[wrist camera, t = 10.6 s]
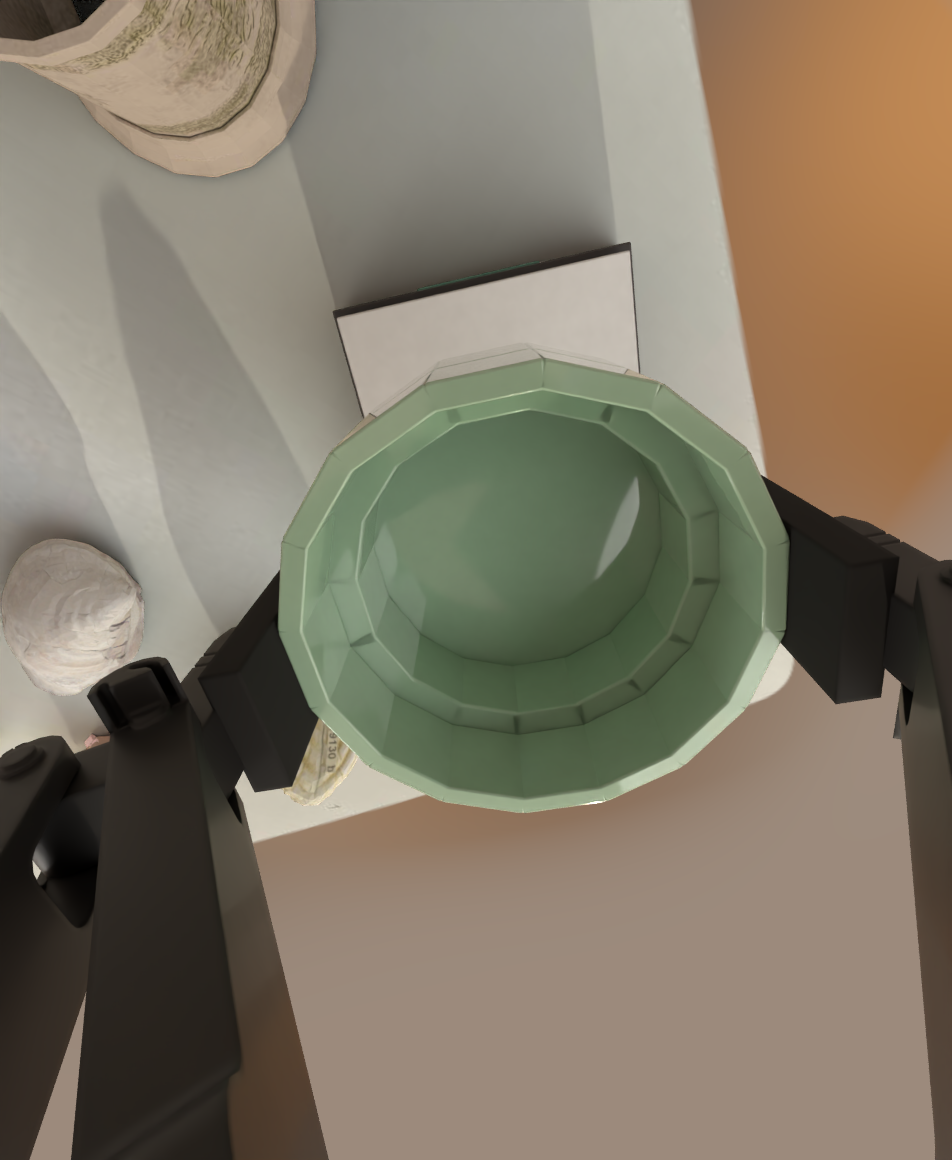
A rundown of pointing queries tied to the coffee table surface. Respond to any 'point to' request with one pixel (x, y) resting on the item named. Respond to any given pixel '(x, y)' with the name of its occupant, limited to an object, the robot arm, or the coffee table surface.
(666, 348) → the coffee table surface
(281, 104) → the mug
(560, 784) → the bowl
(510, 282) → the kitchen scale
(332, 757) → the seashell
